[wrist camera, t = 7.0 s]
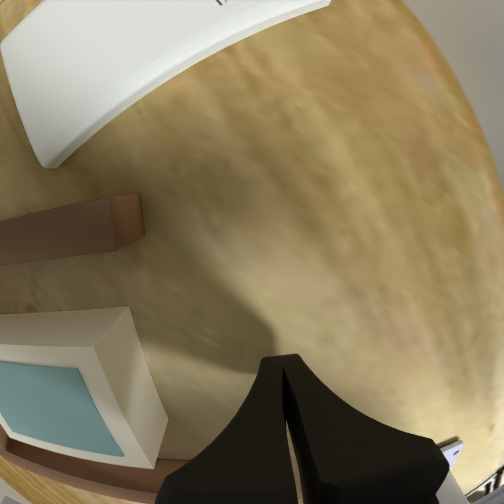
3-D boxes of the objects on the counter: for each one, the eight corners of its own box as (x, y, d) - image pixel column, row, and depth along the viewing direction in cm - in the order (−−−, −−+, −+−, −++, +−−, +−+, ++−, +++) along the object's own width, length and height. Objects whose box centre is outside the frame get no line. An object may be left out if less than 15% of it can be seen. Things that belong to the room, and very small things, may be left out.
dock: (208, 475, 13) (204, 509, 11) (18, 439, 13) (4, 459, 11) (139, 192, 10) (107, 197, 7) (-62, 242, 10) (-89, 251, 8)
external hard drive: (16, 49, 9) (227, -81, 7) (63, 169, 10) (326, 12, 9) (-3, 41, 7) (225, -100, 6) (40, 169, 9) (336, -7, 7)
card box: (169, 415, 13) (153, 470, 9) (37, 402, 13) (9, 438, 9) (131, 303, 11) (92, 348, 8) (-4, 312, 11) (-45, 340, 8)
